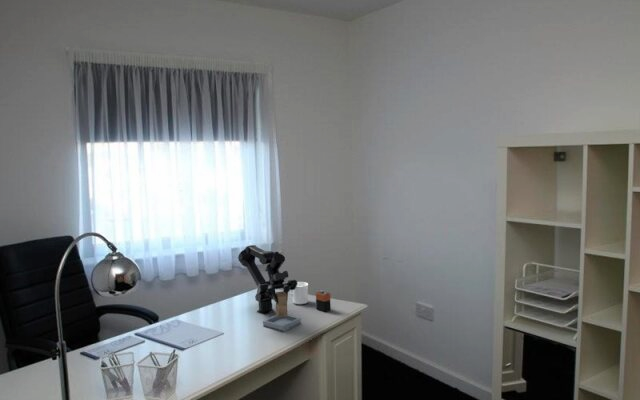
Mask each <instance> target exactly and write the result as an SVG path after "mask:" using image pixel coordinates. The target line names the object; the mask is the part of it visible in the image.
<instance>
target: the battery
mask: <svg viewBox="0 0 640 400" xmlns="http://www.w3.org/2000/svg"><path fill="white" fill-rule="evenodd" d="M315 308H316V310H317V311H319V312H323V313H327V312H329V311H331V293H329V292H328V291H325V290H323V289H319V290H318V291H317V292H315Z"/></svg>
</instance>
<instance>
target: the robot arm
mask: <svg viewBox="0 0 640 400" xmlns="http://www.w3.org/2000/svg"><path fill="white" fill-rule="evenodd" d="M237 258H238V262H240V264H241V265H242V266H243V267H244V268H247V270H248V272H249V274H250V276H251V278H252V279H253V281H254V282H255V285H256V286H257V289H256V290H257V291H256V292H257V293H256V295H255V301H257V302H258V310H256V312H257V313H259V314H264V315H267V314H270V313H272V312H274V311H275V309H273V302H272V300H273V301H274V302H275V304H276V303H277V304H278V299H277V296H276V293H275V292H276V290H278V289H283V290H282V291H284V292H285V293H287V301H288V297H289V296H288V295H289V293H290V292H289V290H291V291H292V290H294V289H295V288H296V286H297V284H298V283H297V282H298V281H297V280H296V279H289V280H288V281H287V282H286V283H285V280H286V279H288V278H289V272H288V270H284V271H282V272H280V270H279V269H281V267H282V266H283V265H284V262H285V261H286V256H284V255H283V254H282V253H280V252H279V251H271V250H264V249H262V248H260V247H257V245H254V244H252V245H247V246H245V248H244V249H243V250H242V251H240V253H239V254H238V257H237ZM256 258H257V259H258V260H259V262H260V264H261V265H266V268H265V272H267V275H268V281H266V279H265V278H264V276H263V274H262V272H261V271H260V269H259V267H258V265H257V263H256Z"/></svg>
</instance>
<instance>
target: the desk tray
mask: <svg viewBox="0 0 640 400" xmlns="http://www.w3.org/2000/svg"><path fill="white" fill-rule="evenodd" d="M301 322H302V321H301V317H299V316H294V315H290V314H287V316H285V317H278V316H277V315H276V314H275V315H273V316H271V317H269V318H267V319H264V320H263V322H262V324H263V327H266V328H269V329H272V330H273V329H274V330H276V331H279V332H286V331H288V330H289V329H291V328H294V327H296V326H298V325H300V324H301Z"/></svg>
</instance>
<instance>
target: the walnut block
mask: <svg viewBox="0 0 640 400" xmlns="http://www.w3.org/2000/svg"><path fill="white" fill-rule="evenodd" d="M275 294H276V296H277V299H278V304H277V303H276V302H275V315H277V316H278V317H285V316H287V315H288V300H287V293H285V292H284V291H283V290H282V291H277V292H276V291H275Z"/></svg>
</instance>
